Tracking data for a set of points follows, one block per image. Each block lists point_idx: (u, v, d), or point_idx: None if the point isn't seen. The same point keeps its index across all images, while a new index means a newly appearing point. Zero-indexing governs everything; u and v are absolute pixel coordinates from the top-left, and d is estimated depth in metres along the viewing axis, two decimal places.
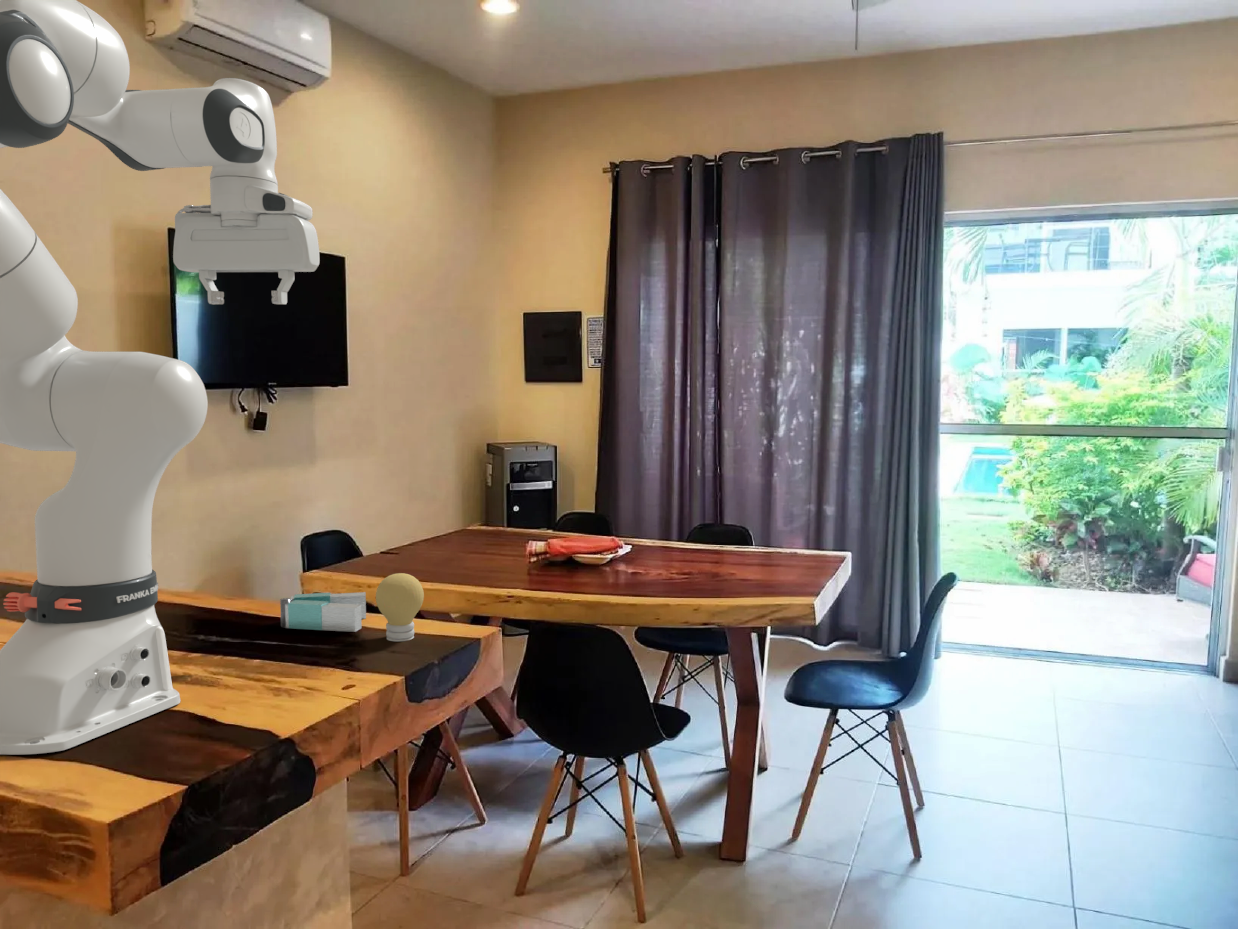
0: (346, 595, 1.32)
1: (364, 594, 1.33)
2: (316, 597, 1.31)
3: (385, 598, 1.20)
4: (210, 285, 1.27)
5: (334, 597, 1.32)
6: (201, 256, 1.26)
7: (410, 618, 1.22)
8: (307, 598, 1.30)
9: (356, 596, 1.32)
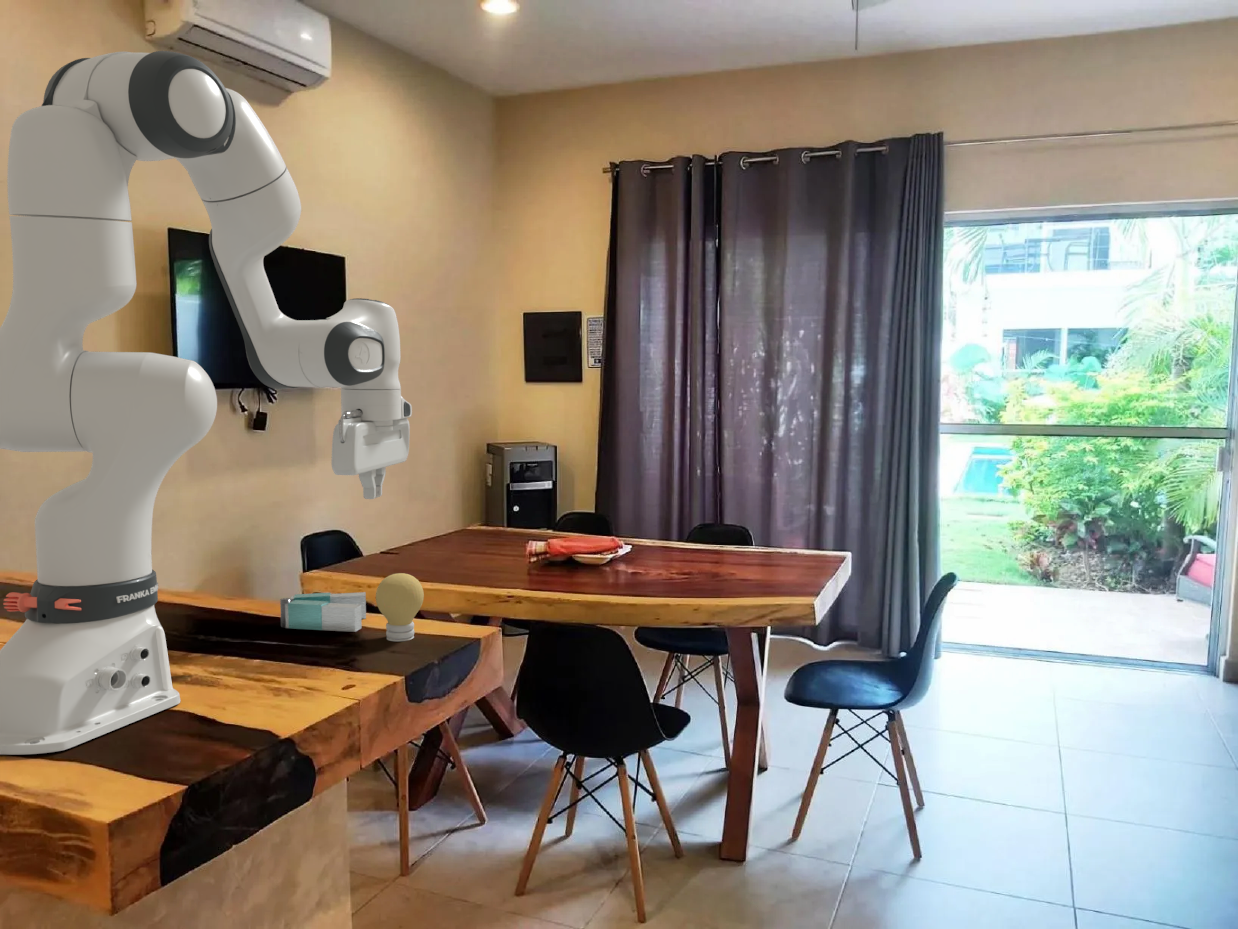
0: (346, 595, 1.32)
1: (364, 594, 1.33)
2: (316, 597, 1.31)
3: (385, 598, 1.20)
4: None
5: (334, 597, 1.32)
6: (367, 460, 1.32)
7: (410, 618, 1.22)
8: (307, 598, 1.30)
9: (356, 596, 1.32)
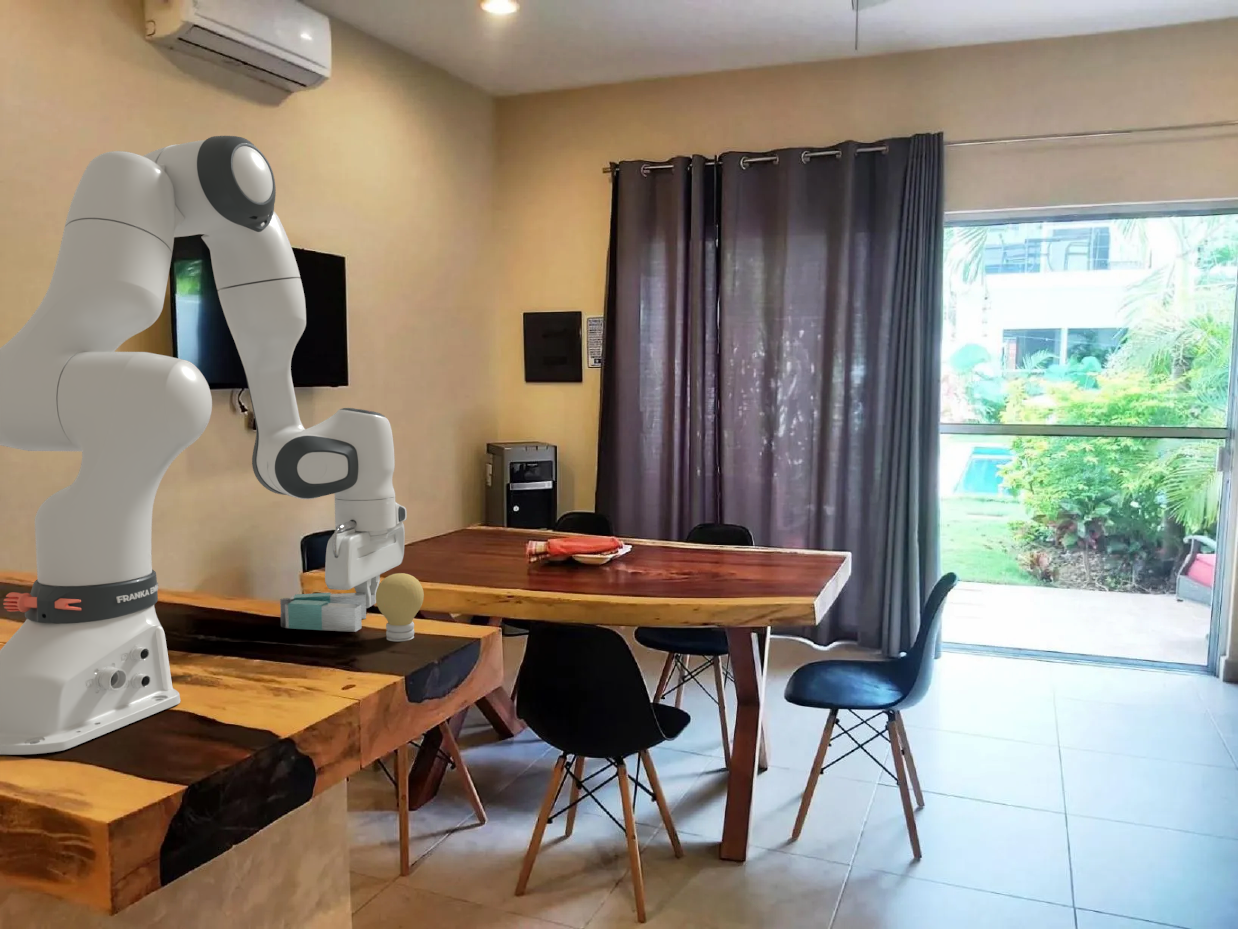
0: (346, 595, 1.32)
1: (364, 594, 1.33)
2: (316, 597, 1.31)
3: (385, 598, 1.20)
4: None
5: (334, 597, 1.32)
6: (361, 572, 1.30)
7: (410, 618, 1.22)
8: (307, 598, 1.30)
9: (356, 596, 1.32)
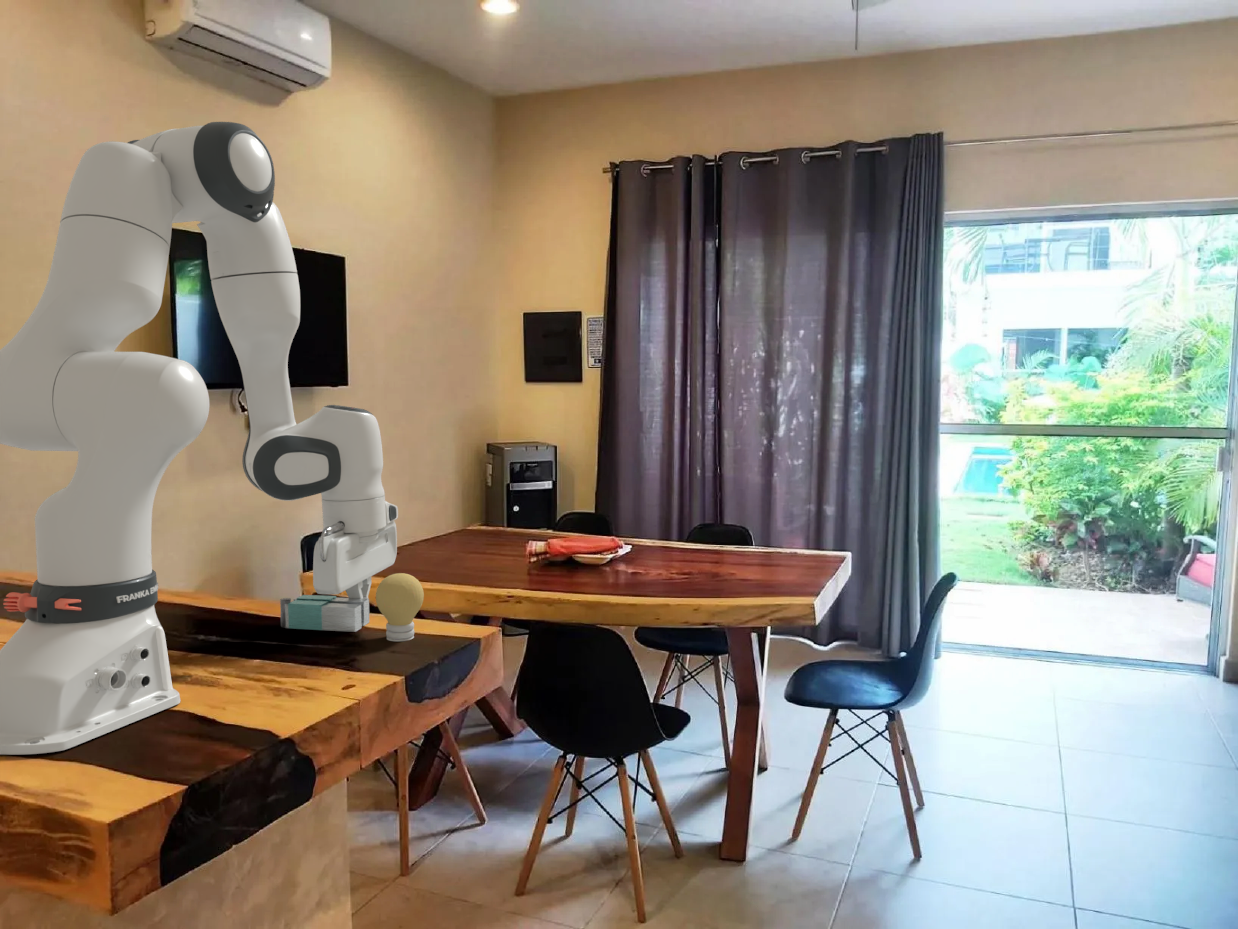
0: (346, 600, 1.29)
1: (364, 601, 1.29)
2: (317, 599, 1.29)
3: (385, 598, 1.20)
4: None
5: (334, 601, 1.29)
6: (351, 575, 1.26)
7: (410, 618, 1.22)
8: (309, 600, 1.29)
9: (355, 602, 1.29)
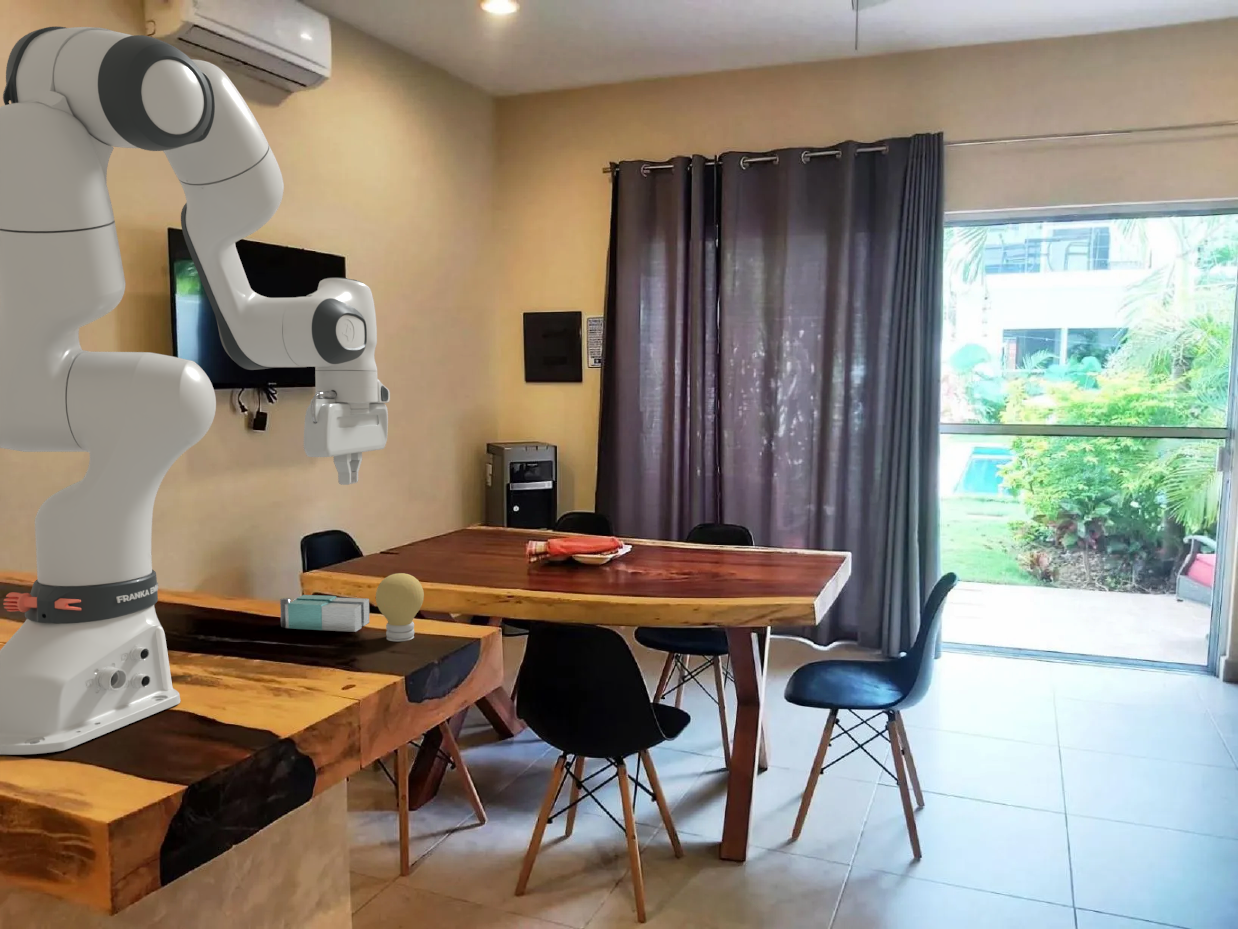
0: (346, 600, 1.29)
1: (364, 601, 1.29)
2: (317, 600, 1.29)
3: (385, 598, 1.20)
4: None
5: (334, 601, 1.29)
6: (341, 443, 1.28)
7: (410, 618, 1.22)
8: (309, 600, 1.29)
9: (354, 602, 1.29)
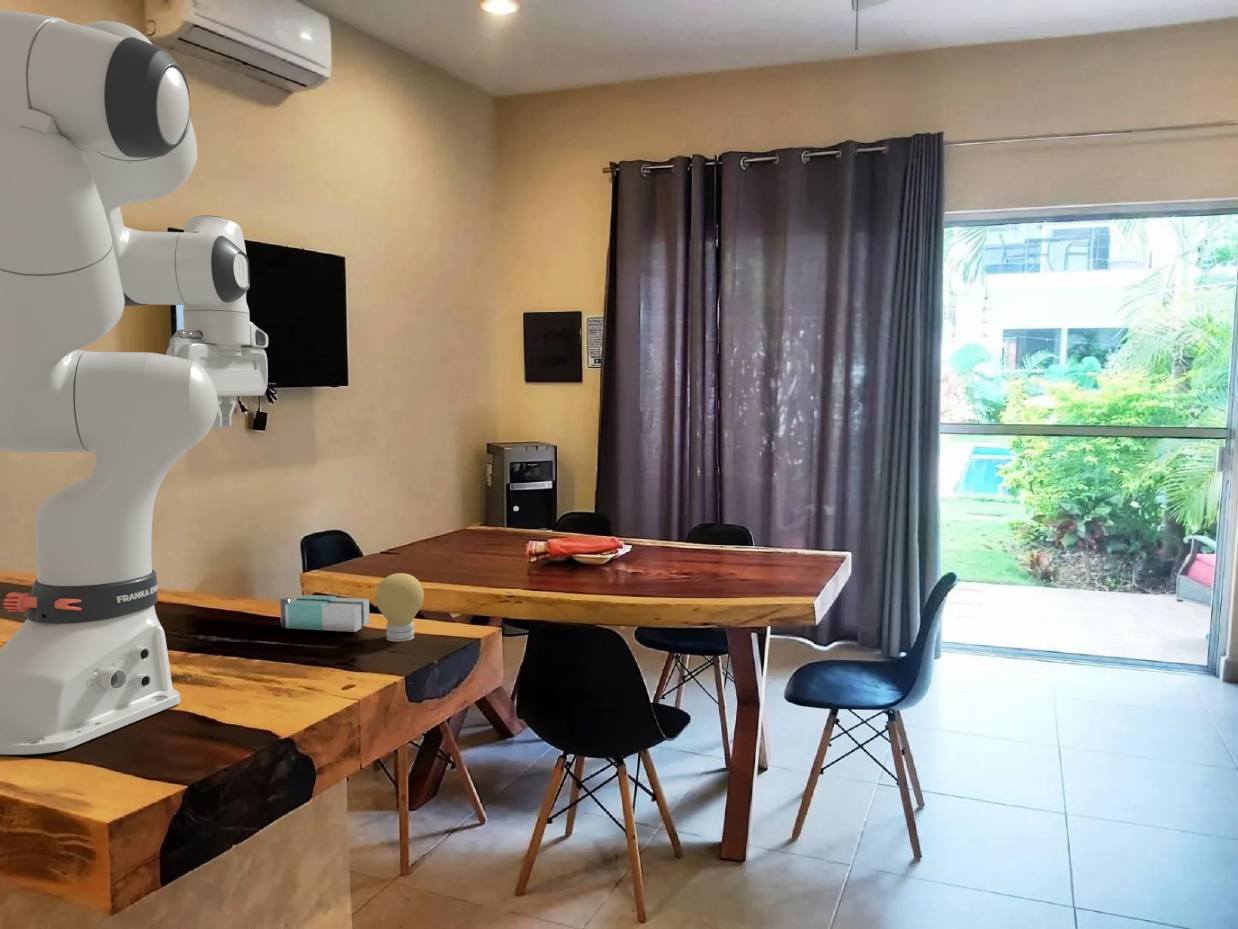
0: (346, 600, 1.29)
1: (364, 601, 1.29)
2: (317, 600, 1.29)
3: (385, 598, 1.20)
4: None
5: (334, 601, 1.29)
6: None
7: (410, 618, 1.22)
8: (309, 600, 1.29)
9: (354, 602, 1.29)
